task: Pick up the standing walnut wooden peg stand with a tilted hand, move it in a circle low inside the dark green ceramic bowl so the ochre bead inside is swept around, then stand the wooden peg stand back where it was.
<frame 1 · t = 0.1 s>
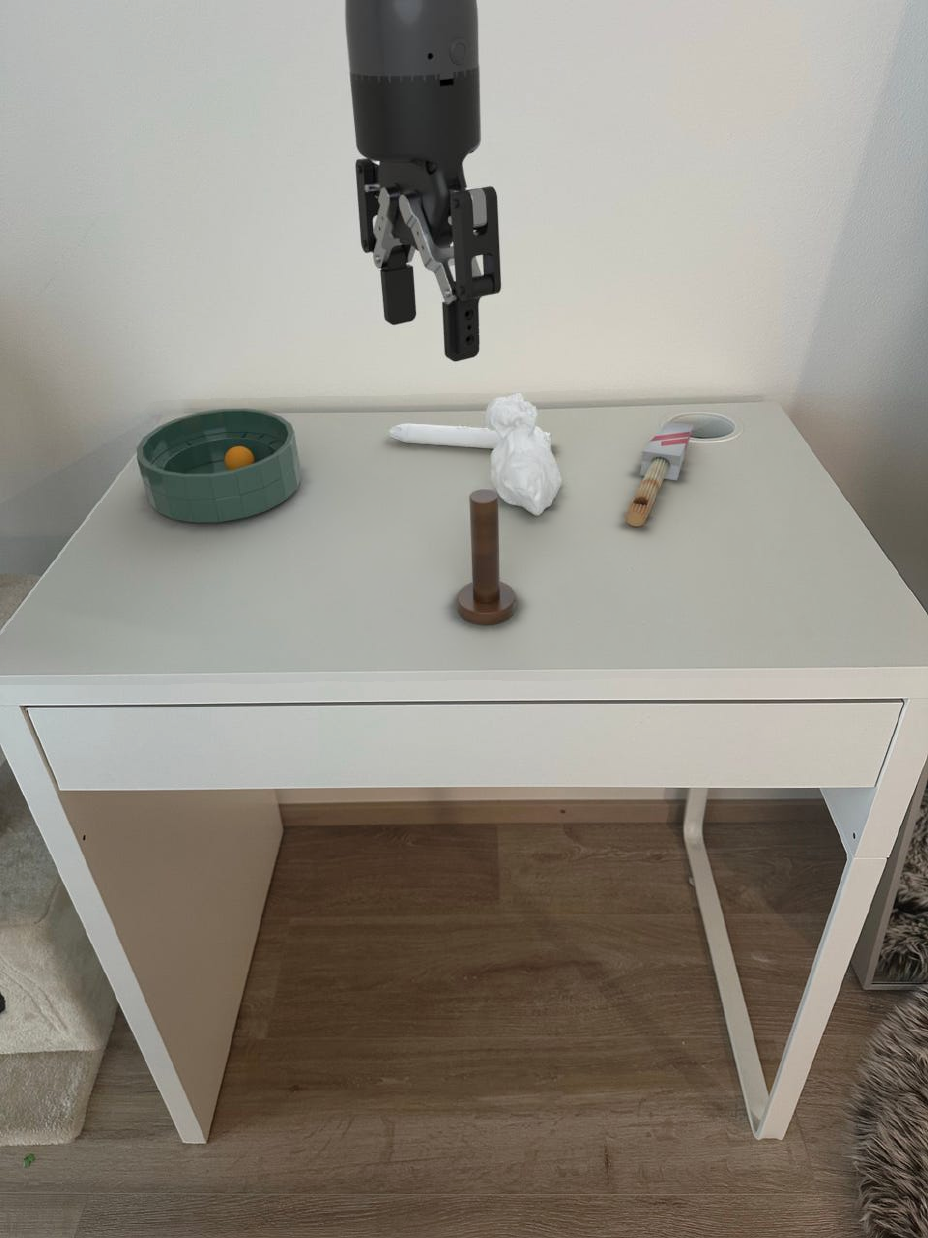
hand: (430, 338, 63), 23 cm above the table, tool pointing down, fingers open, 8 cm apart
bead: (239, 460, 96), point 2 cm above the table, touching bowl
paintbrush: (657, 480, 94), on the table
wooden peg stand: (486, 607, 77), on the table
bowl: (226, 489, 95), on the table
marker: (467, 447, 102), on the table
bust: (523, 497, 92), on the table
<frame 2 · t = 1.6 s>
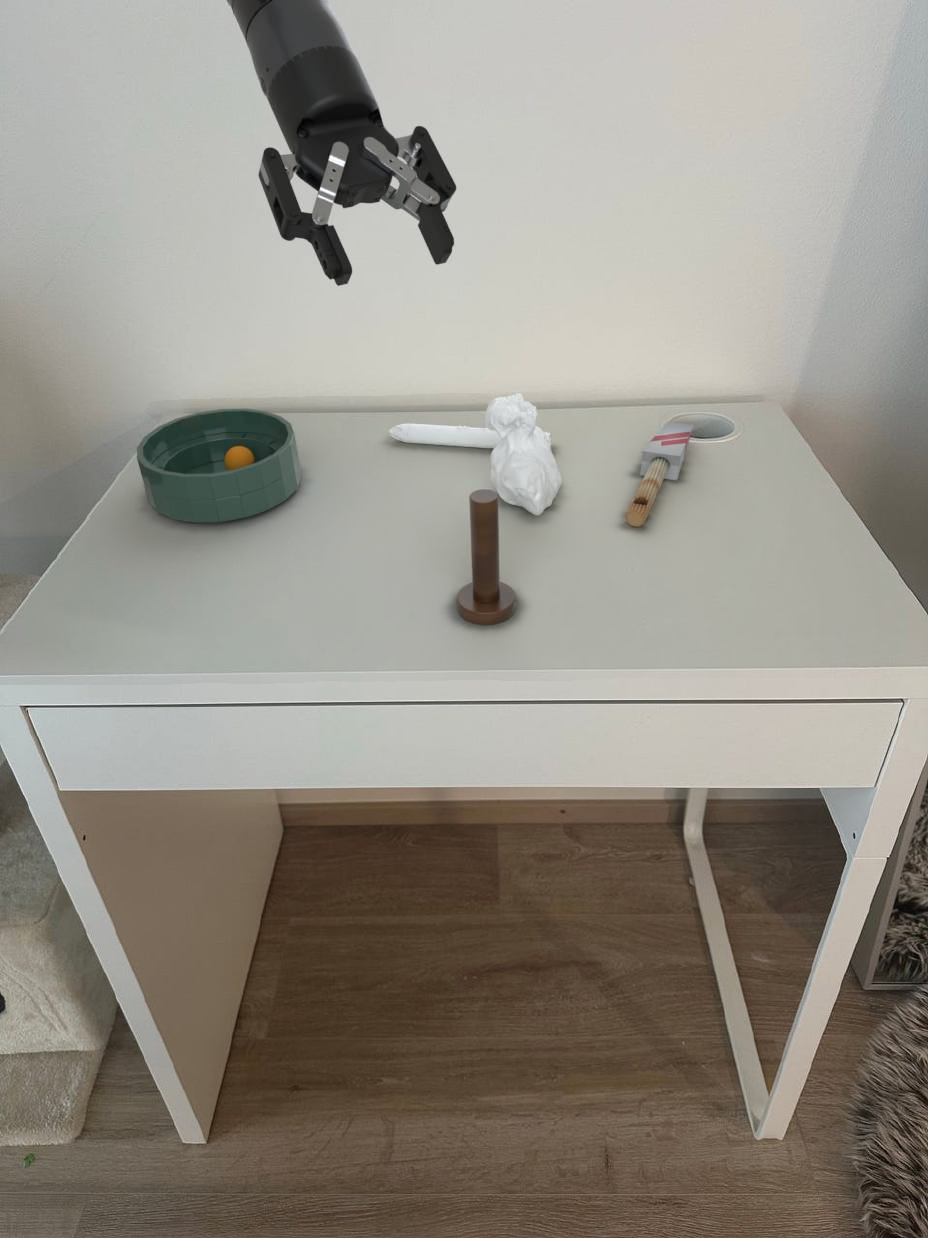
hand: (396, 268, 70), 25 cm above the table, tool tilted 45°, fingers open, 8 cm apart
nothing on the table moved.
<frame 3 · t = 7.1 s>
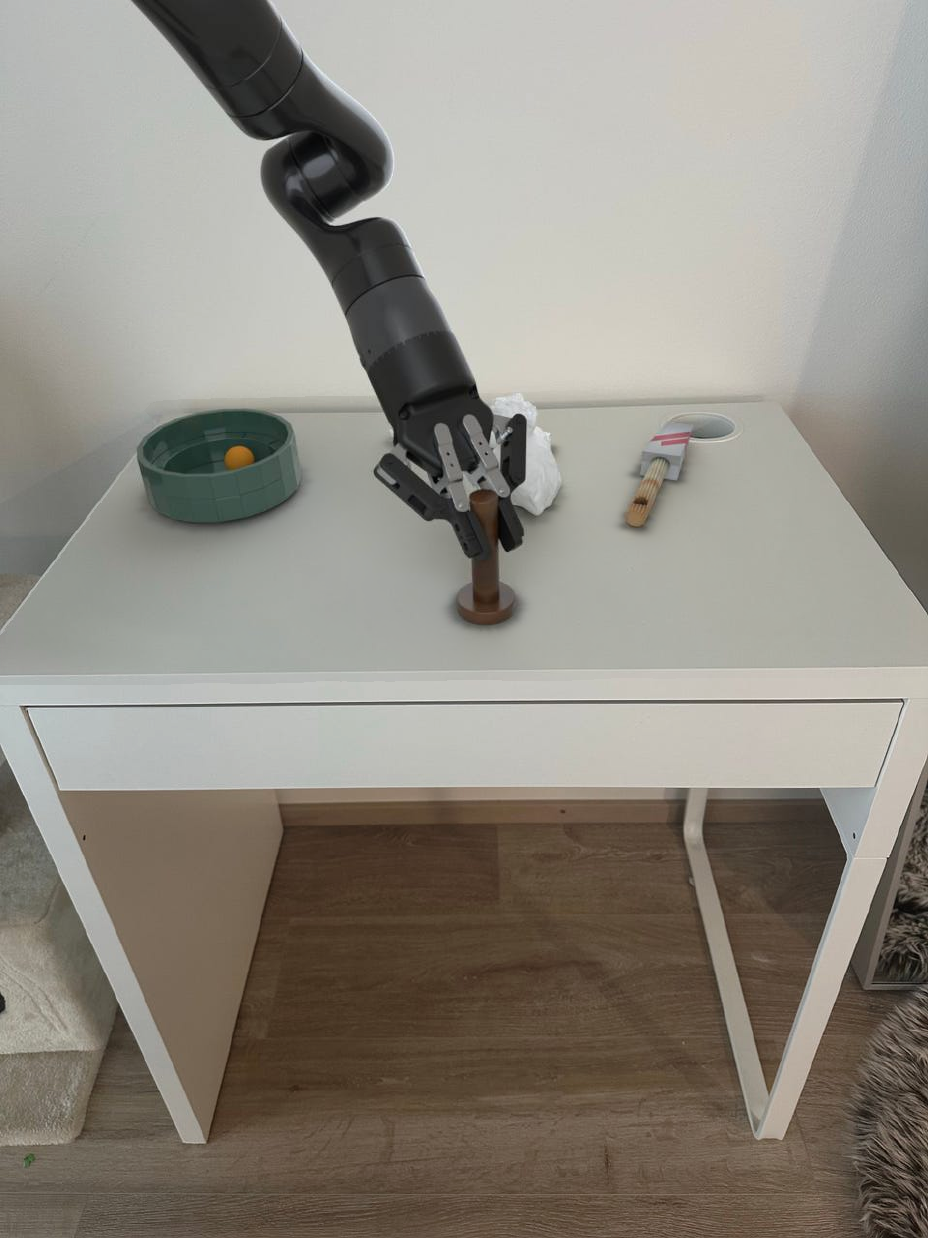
hand: (499, 552, 72), 6 cm above the table, tool tilted 45°, fingers closed on wooden peg stand
wooden peg stand: (486, 607, 77), on the table, touching gripper
everything else where it was.
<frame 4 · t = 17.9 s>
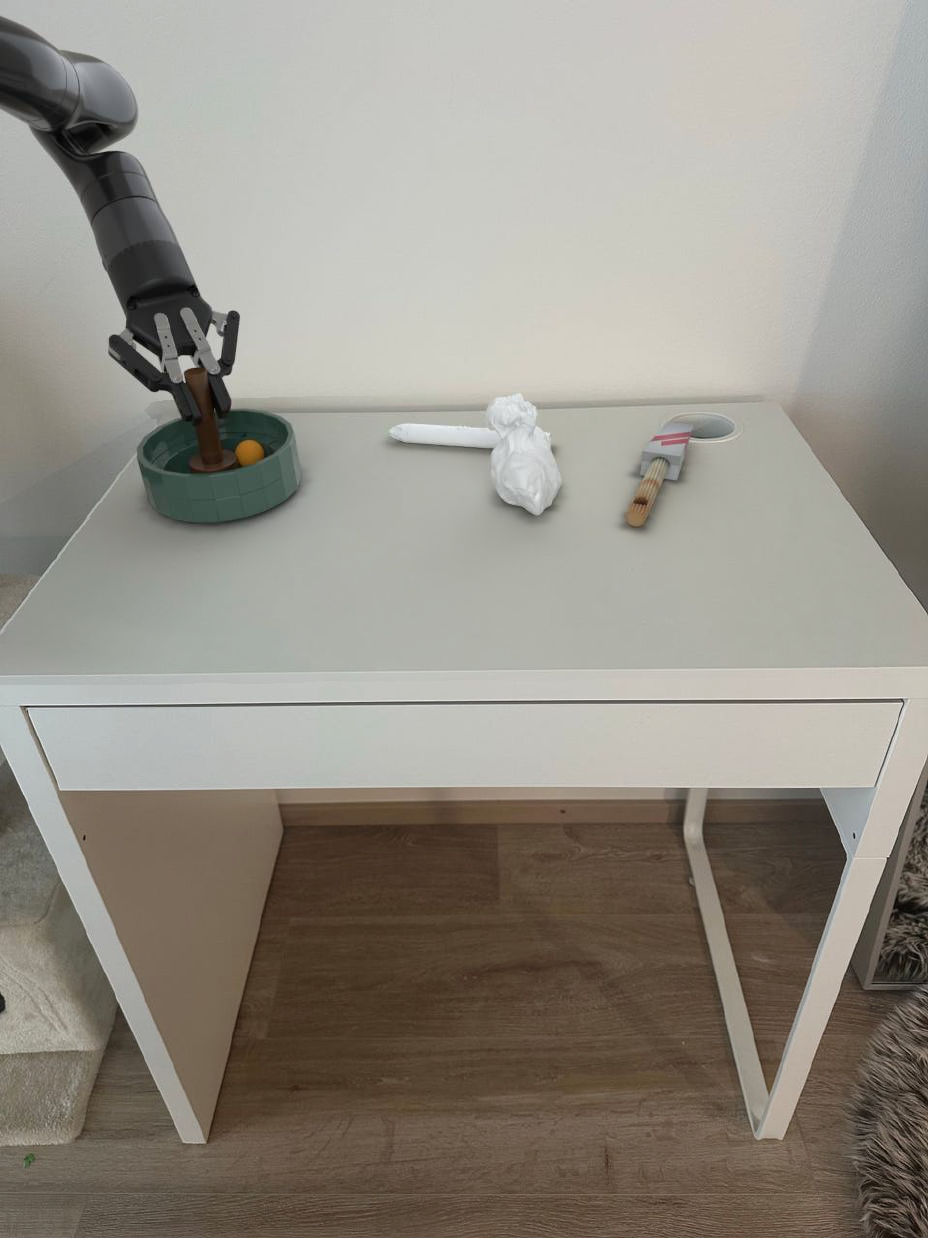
hand: (210, 418, 91), 8 cm above the table, tool tilted 45°, fingers closed on wooden peg stand
bead: (249, 454, 97), point 2 cm above the table, tilted 60°, touching bowl, wooden peg stand
wooden peg stand: (214, 469, 96), point 1 cm above the table, touching bead, gripper
everything else where it was.
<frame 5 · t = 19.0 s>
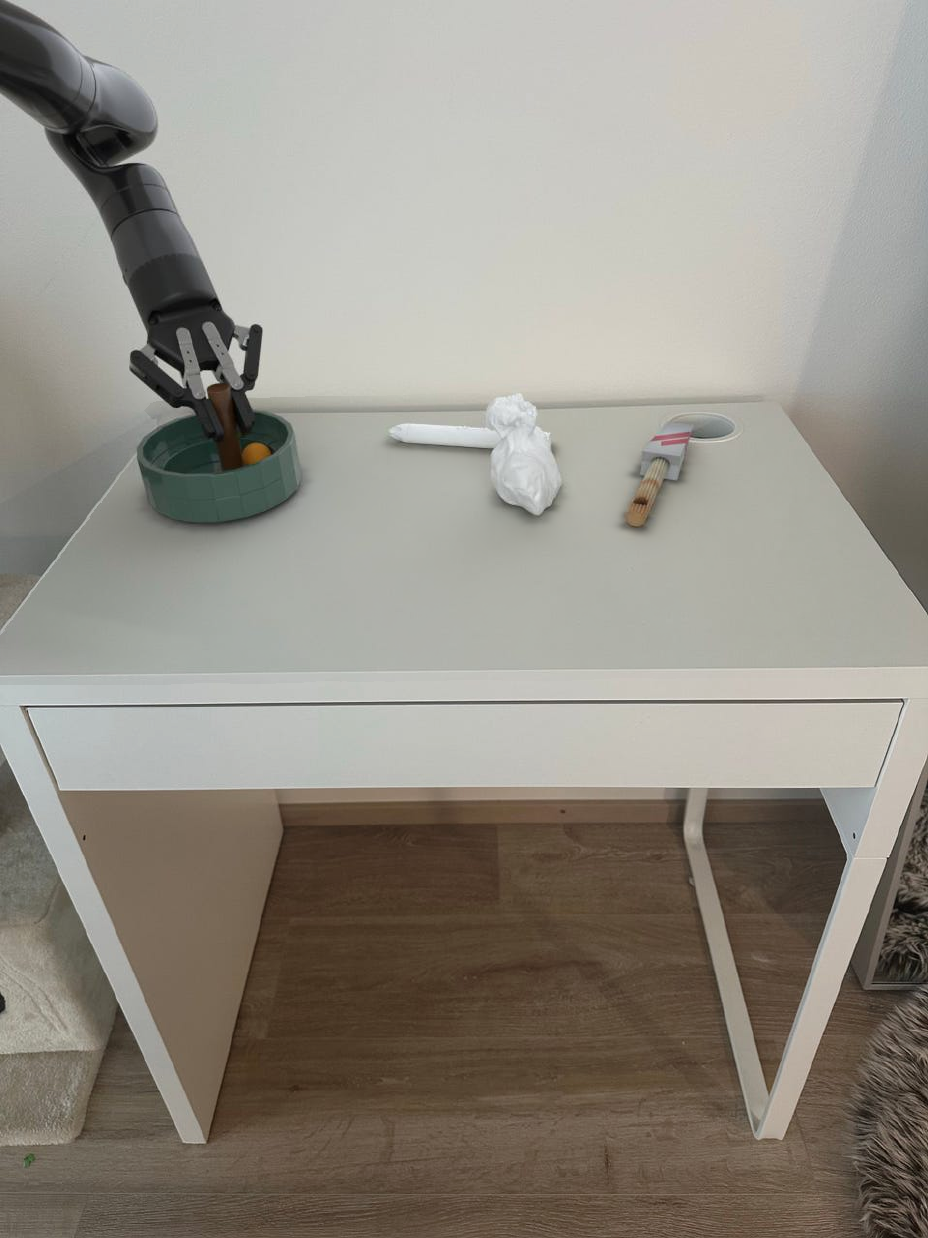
hand: (234, 434, 89), 7 cm above the table, tool tilted 45°, fingers closed on wooden peg stand
bead: (257, 457, 96), point 2 cm above the table, tilted 53°, touching bowl
wooden peg stand: (236, 485, 94), point 1 cm above the table, touching gripper
everything else where it was.
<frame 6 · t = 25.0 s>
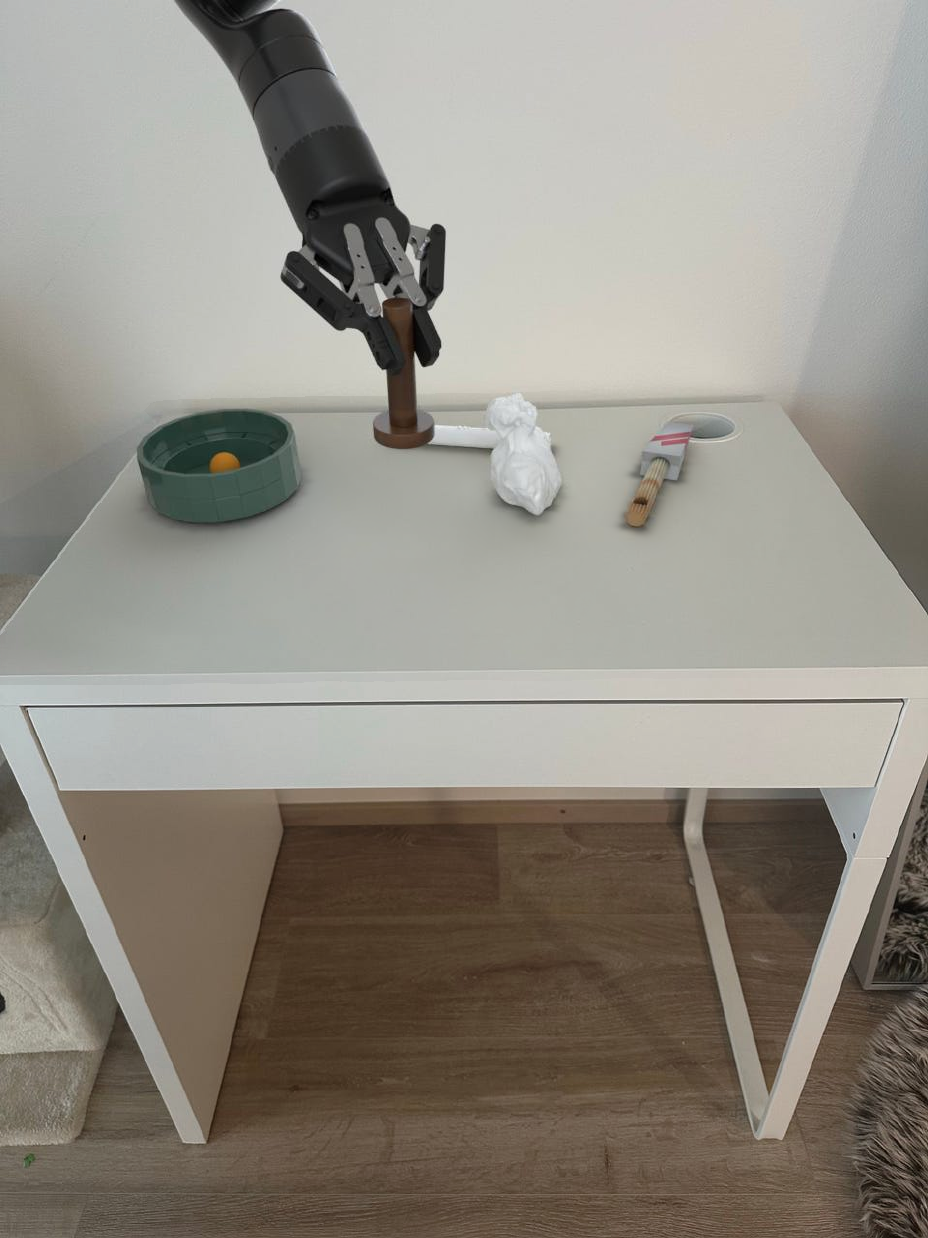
hand: (415, 364, 68), 20 cm above the table, tool tilted 45°, fingers closed on wooden peg stand
bead: (225, 467, 95), point 2 cm above the table, tilted 102°, touching bowl
wooden peg stand: (404, 435, 74), point 13 cm above the table, touching gripper
everything else where it was.
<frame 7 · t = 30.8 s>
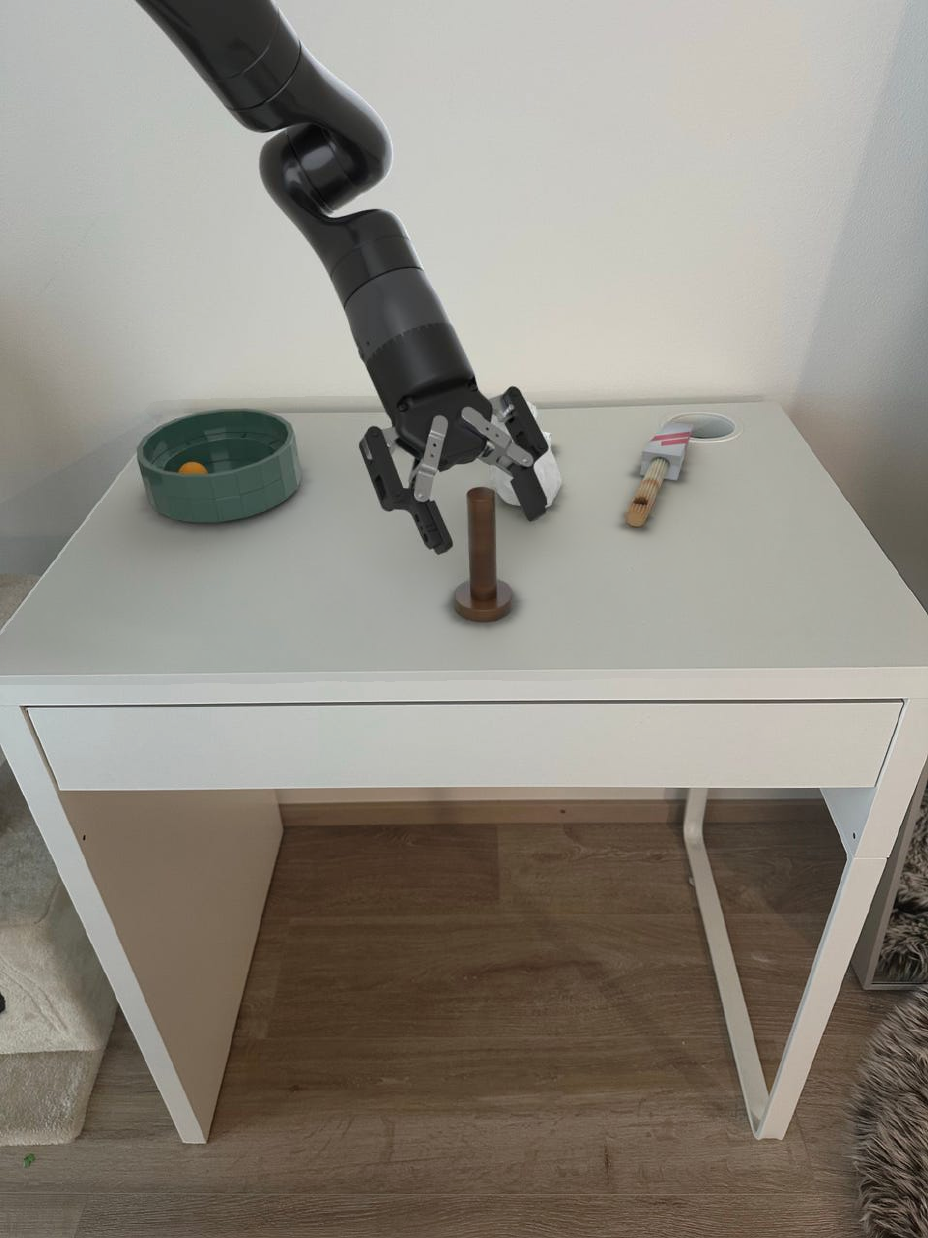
hand: (493, 533, 72), 8 cm above the table, tool tilted 45°, fingers open, 8 cm apart
bead: (193, 477, 93), point 2 cm above the table, tilted 111°, touching bowl
wooden peg stand: (483, 605, 78), on the table
everything else where it was.
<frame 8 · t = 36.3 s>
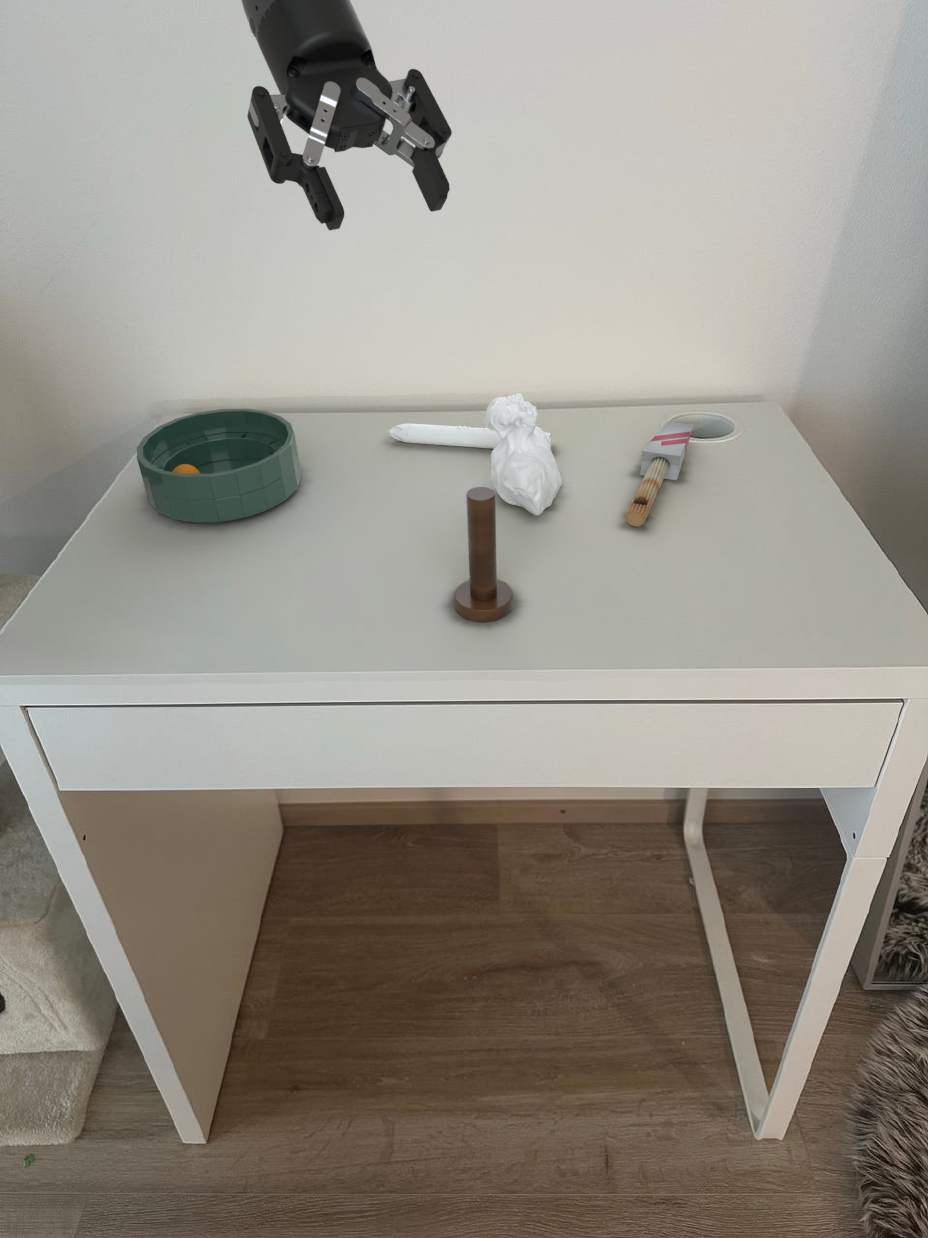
hand: (390, 213, 68), 29 cm above the table, tool tilted 45°, fingers open, 8 cm apart
bead: (186, 479, 93), point 2 cm above the table, tilted 93°, touching bowl
everything else where it was.
at the end: bead moved 5.9 cm from its start; bead inside the target area in the bowl (3.6 cm from its centre), point 2.1 cm above the bowl's base; wooden peg stand tilted 0° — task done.
